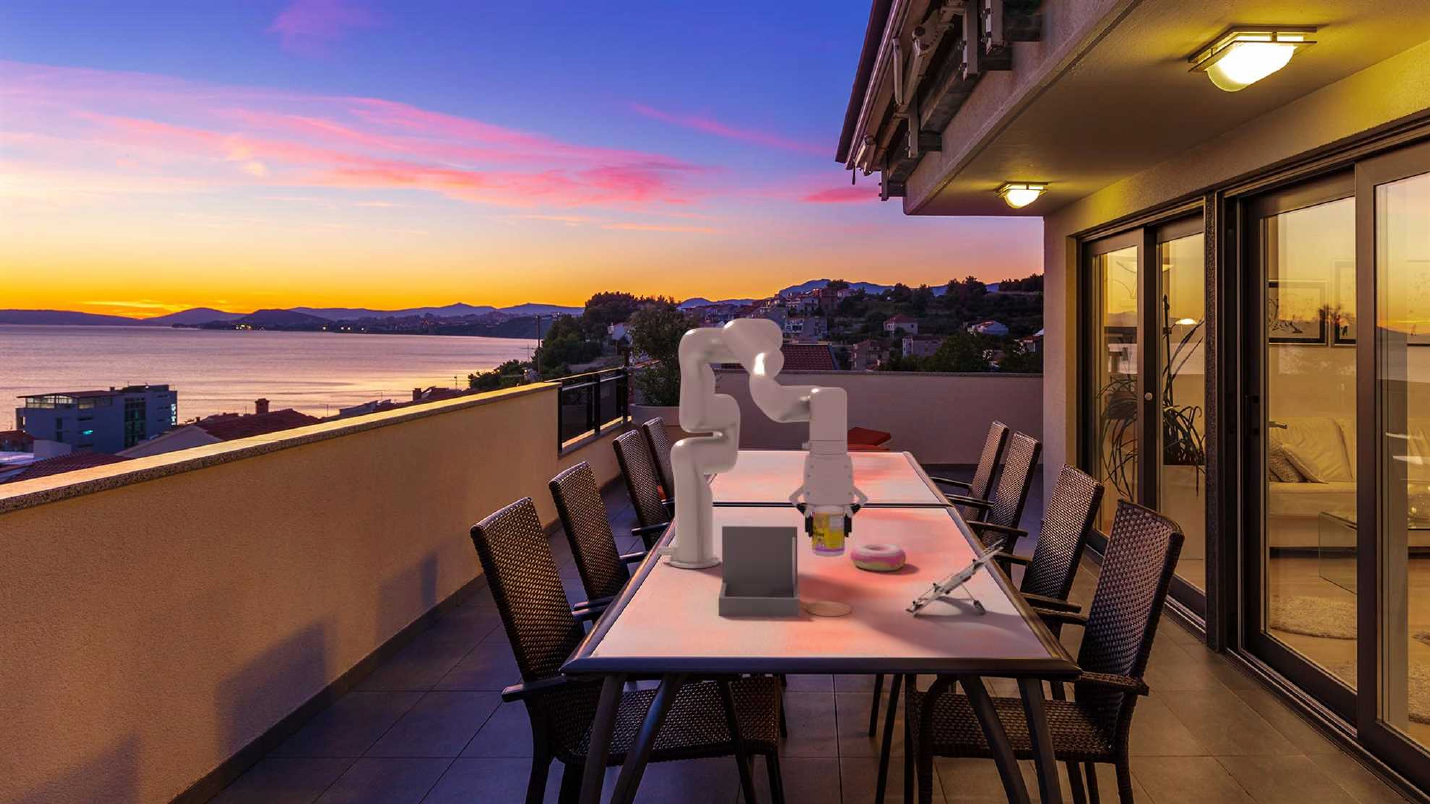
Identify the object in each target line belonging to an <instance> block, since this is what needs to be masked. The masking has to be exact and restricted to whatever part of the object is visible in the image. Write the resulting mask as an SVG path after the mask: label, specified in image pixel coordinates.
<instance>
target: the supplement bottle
mask: <svg viewBox="0 0 1430 804" xmlns="http://www.w3.org/2000/svg"><path fill="white" fill-rule="evenodd" d="M845 513H846V511H845V509H844V507H843V506H834V505H824V506H817V505H815V506H814V508H813V510H812V512H811V516H812V537H811V552H812V554H813V555H816V556H819V557H827V558H829V557H838V556H839V557H840V556H842V555H844V553H845V551H846V550H845V549H846V548H845V547H846V544H845V542H846V541H845V540H846V537H845Z"/></svg>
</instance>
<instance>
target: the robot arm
mask: <svg viewBox="0 0 1430 804" xmlns="http://www.w3.org/2000/svg"><path fill="white" fill-rule="evenodd" d="M783 338H784V337H783V331H782V329H781V328H780V326H779V325H778V324H777V323H776V322H775V321H773V320H770V319H768V318H750V317H749V318H748V317H747V318H746V317H745V318H743V317H741V318H735V319H732V320H730V321H728V322H727V323H726V324H725V325H724V327H698V328H693V329H689V330H688V331H687V332H685V334H683V336H682V337H681V340H680V342H679V346H678V362H679V366H680V375H681V377H680V378H681V379H680V393H679V397H680V398H679V407H678V408H679V410H678V411H679V412H678V417H679V418H678V419H679V420H678V421H679V425H680V427H681V429H682V430H683V431H685V432H687V433H690V434H691V433H693V434H698V433H699V434H700V433H703V434H704V433H712V436H698V437H686V438H683V439H679V440H678V441H676V442H675V443H674V444H673V445H672V447H671V450H670V455H669V456H670V457H669V458H670V464H671V468H672V474H673V483H674V484H673V485H674V529H675V530H674V532H675V533H674V536H675V537H674V538H675V539H674V540H675V542H674V544H673V545H670V546H665V545H661V546H658V547H657V554H658V555H661V556H670V557H669V559H668V560H669V561H668V562H669V564H670V565H671V566H673V567H676V568H681V569H705V568H711V567H714V566H717V565H718V564H720V557H719V556H718V555H716V554H714V504H713V503H714V502H713V501H714V499H713V496H714V495H713V490H712V487H711V486H710V483H709V482H708V480H707V479H706V477H705V476H707V475H715V474H725V473H728V472H731V471H732V470H734V468H735V466H736V464H737V461H738V455H739V444H740V443H739V442H740V430H741V411H740V406H739V405H738V402H737V400H736V399H735V398H734V397H733V396H732V395H730V394H727V393H726V394H724V393H716V375H715V373H714V370H713V369H712V367H711V366H710V364H740V365H741V366H742V367H743V368H744V369H745V371H746V372H747V373H748V374H749V375H750V376H749V380H748V381H749V383H748V384H749V391H750V395H751V398H752V400H753V402H754V403H755V404H756V405H757V407H758V408H759V409H760V410H761V411H762V412H763V413H764V414H765V415H766V416H767V417H768V418H769V419H770V420H772V421H774V422H777V423H795V422H796V423H797V422H803V423H804V422H809V429H808V430H809V431H808V432H809V437H808V438H809V439H808V441H806V442H802V444H801V445H802V450H806V451H808V452H809V454H806V455H805V460H804V465H803V466H804V467H803V478H802V480H803V481H802V484H801V485H800V486H799V487H798V488H797V489H796V490H795V491H793V492H792V494H791V495H789V496H788V500H789V502H791V503H792V505H793V506H794V507H795V508H796V509H797V510H798V511H799V512H800V513H801V515H802V516H803V517H804V533H807V536H808V538H812V510H813V508H814V506H815V505H817V506H824V505H834V506H843V507H844V509H845V539H846V538H850V537H849V536H850V535H849V534H850V533H853V517H854V516H855V515H856V514H857V513H858V512H859V511H860V510H861V509H862V507H863V506H864V505H865V504H866V503H867V502H868V501H869V498H868V496H866V494H864V492H862V491H861V490H860V489H859V488H858V487H857V486H856V485H855V479H854V478H855V477H854V467H853V466H854V465H853V460H852V456H851V455H850V454H848V394H847V391H846V390H845V389H844V388H842V387H835V386H834V387H833V386H826V387H824V386H819V385H781V384H779V383H778V382H777V381H776V380H775V379H774V378H775V377H777V375H778V374H779V373H780V372H781V371H782V370H783V369H782V368H783V366H784V362H785V357H784V353H783V352H782V351H781V350H780V349H781V348H782V346H783V342H784V341H783V340H784V339H783ZM801 496H803V497H802V498H803V503H805V505H804V504H803V503H802V502H800V500H798V499H799V498H800V497H801ZM855 496H856V497H857V498H858V500H857V501H856V502H855V503H854V501H855ZM853 503H854V504H853ZM852 504H853V505H852ZM850 505H852V506H850Z"/></svg>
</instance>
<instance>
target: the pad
mask: <svg viewBox="0 0 1430 804" xmlns="http://www.w3.org/2000/svg"><path fill="white" fill-rule="evenodd" d="M805 610H806V612H807V613H808V614H811V615H814V616H821V617H840V616H845V615H847V614H849V613H850V612H851V607H850V606H849V605H848V604H845V603H842V602H838V601H815V602H811V603H808V604H807V605H806V606H805Z"/></svg>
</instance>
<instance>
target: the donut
mask: <svg viewBox="0 0 1430 804" xmlns="http://www.w3.org/2000/svg"><path fill="white" fill-rule="evenodd" d="M850 560H851V562H852V563H853V564H854V565H855V566H856V567H858V568H860V569H863V570H867V571H876V572H890V571H891V572H892V571H896V570H899V569H901V568H902V567H904V565H905V564H906V561H907V555H906V552H905V550H903V549H902V548H901V547H899V546H897V545H894V544H891V543H886V542H885V543H884V542H883V543H882V542H868V543H867V542H865V543H861V544H858V545H856V546H854V547H853V548H852V549H851V551H850Z"/></svg>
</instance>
